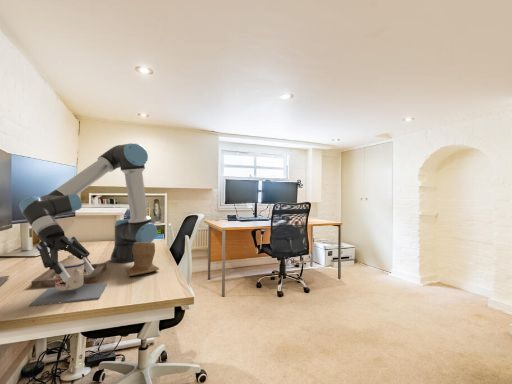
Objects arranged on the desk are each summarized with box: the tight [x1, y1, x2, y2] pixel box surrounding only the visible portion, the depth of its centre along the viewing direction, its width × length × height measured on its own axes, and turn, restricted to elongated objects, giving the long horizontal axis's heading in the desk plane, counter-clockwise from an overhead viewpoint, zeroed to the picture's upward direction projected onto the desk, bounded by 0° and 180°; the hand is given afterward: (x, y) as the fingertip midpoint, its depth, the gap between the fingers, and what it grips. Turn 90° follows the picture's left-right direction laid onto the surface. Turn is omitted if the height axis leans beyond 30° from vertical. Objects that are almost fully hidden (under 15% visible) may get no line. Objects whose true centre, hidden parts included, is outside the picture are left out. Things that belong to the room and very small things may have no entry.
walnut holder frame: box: [30, 262, 107, 289], centre depth 115 cm, size 22×22×2 cm
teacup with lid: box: [54, 254, 85, 291], centre depth 96 cm, size 12×9×12 cm
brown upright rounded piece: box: [125, 241, 160, 277], centre depth 123 cm, size 15×12×15 cm
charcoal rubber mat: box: [28, 282, 108, 307], centre depth 96 cm, size 20×16×1 cm
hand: (80, 275), depth 95 cm, fingers closed on teacup with lid, 9 cm apart
